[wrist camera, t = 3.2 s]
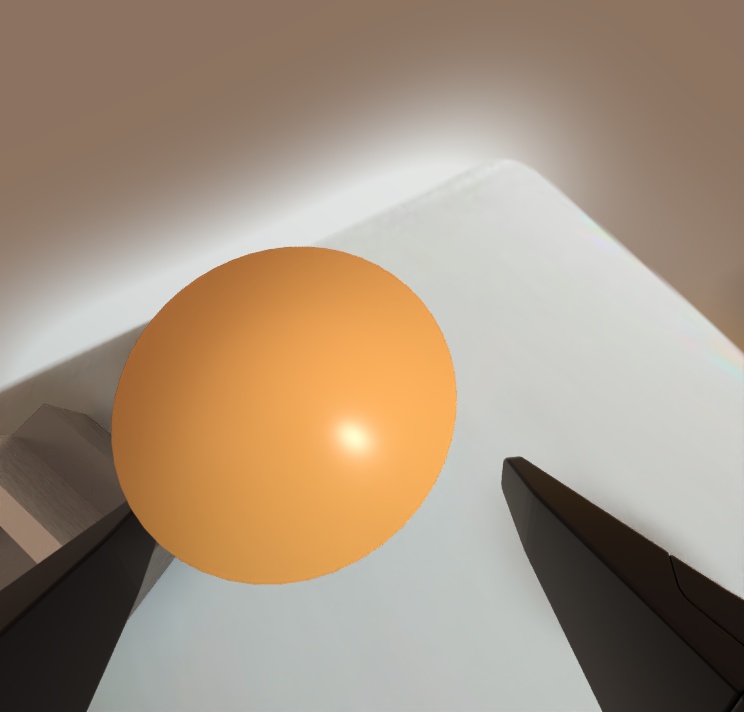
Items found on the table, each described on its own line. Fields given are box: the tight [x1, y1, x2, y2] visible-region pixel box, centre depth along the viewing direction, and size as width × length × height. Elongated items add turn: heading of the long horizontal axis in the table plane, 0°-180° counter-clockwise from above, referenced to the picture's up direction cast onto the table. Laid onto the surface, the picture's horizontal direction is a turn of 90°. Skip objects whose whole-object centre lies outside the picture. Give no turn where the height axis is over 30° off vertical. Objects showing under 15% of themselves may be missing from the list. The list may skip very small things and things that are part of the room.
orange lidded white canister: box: [112, 247, 457, 584], centre depth 11 cm, size 5×5×14 cm
